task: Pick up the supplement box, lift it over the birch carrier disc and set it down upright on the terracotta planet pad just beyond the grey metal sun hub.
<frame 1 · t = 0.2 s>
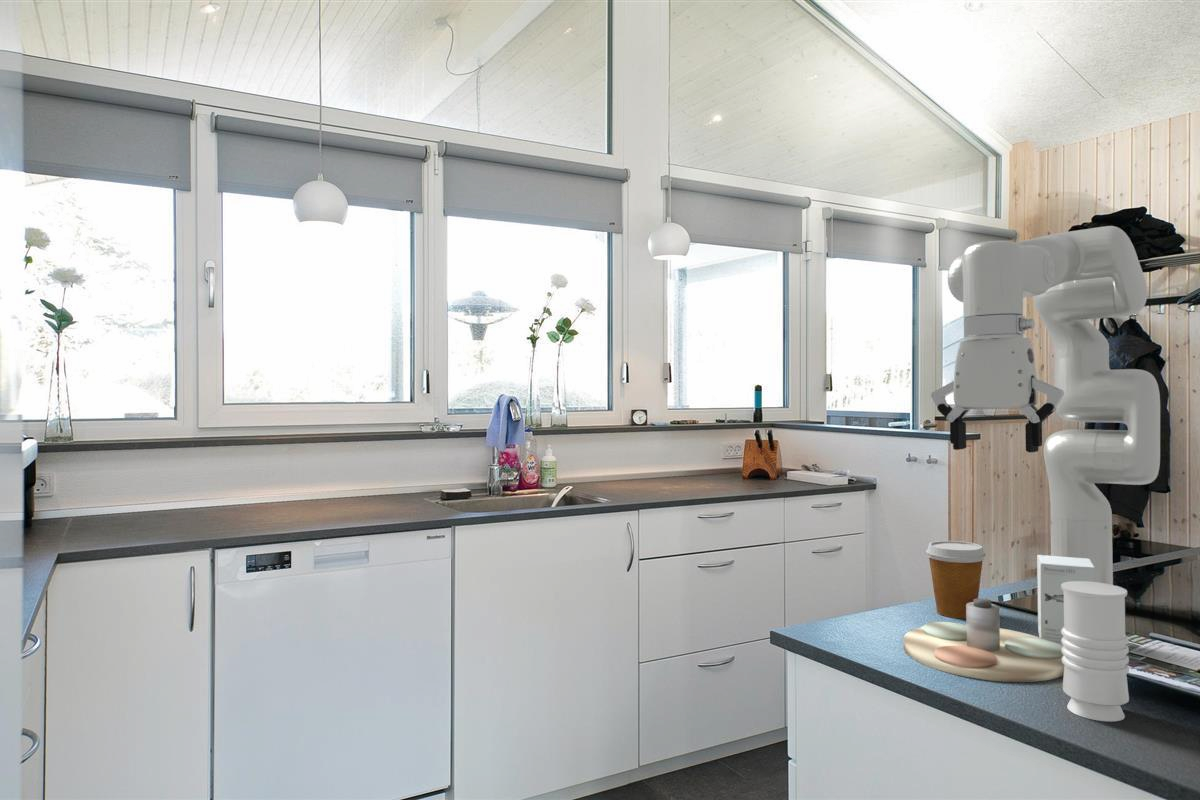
hand: (994, 450, 109), 31 cm above the worktop, tool pointing down, fingers open, 9 cm apart
disposable coffee cup: (956, 614, 134), on the worktop
supplement box: (1065, 642, 119), on the worktop
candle: (1095, 712, 93), on the worktop
carrier: (983, 654, 113), on the worktop
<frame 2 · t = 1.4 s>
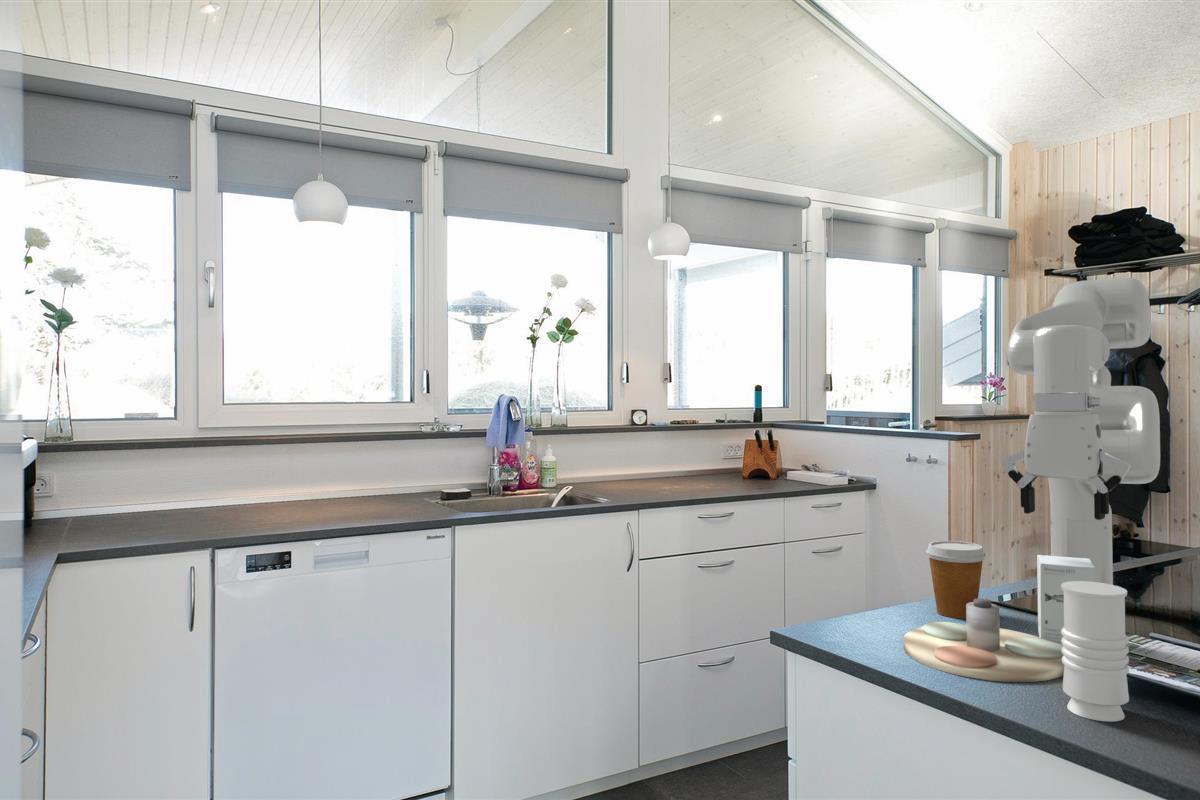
hand: (1063, 515, 119), 20 cm above the worktop, tool pointing down, fingers open, 9 cm apart
nothing on the worktop moved.
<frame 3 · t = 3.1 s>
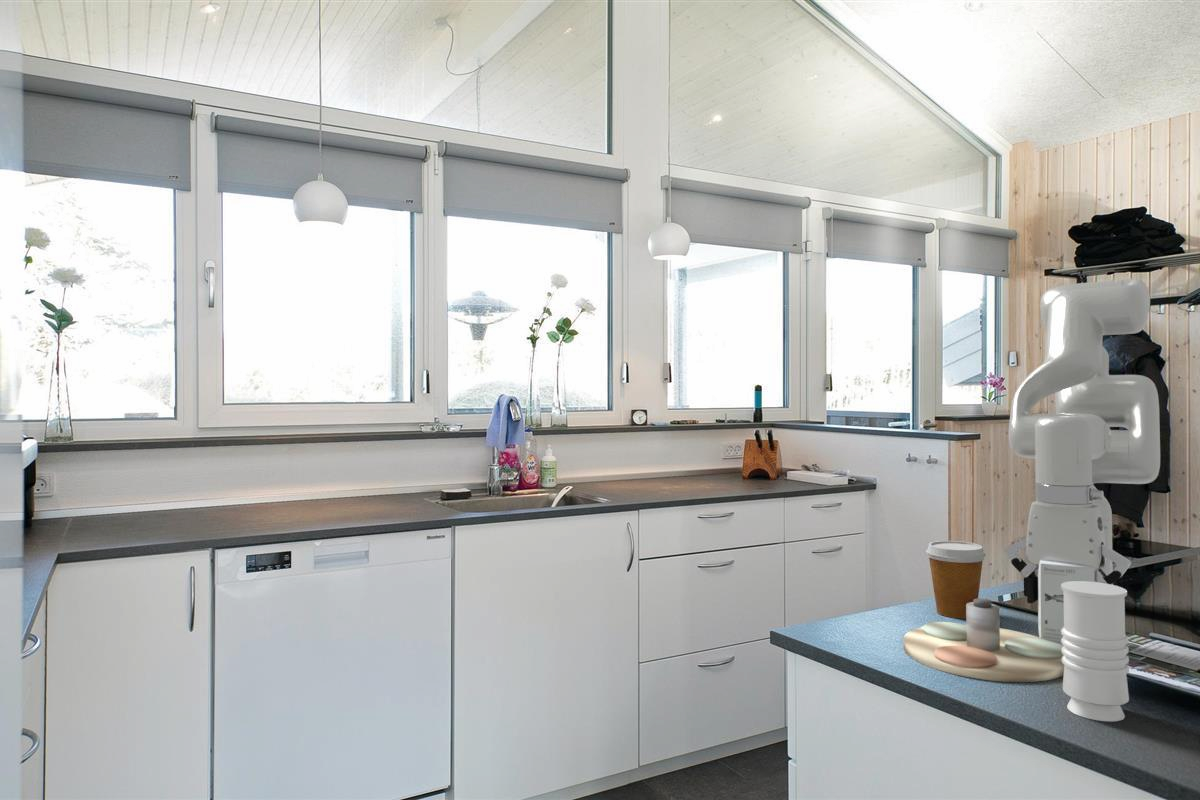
hand: (1065, 606, 119), 5 cm above the worktop, tool pointing down, fingers closed on supplement box, 8 cm apart
supplement box: (1066, 642, 119), on the worktop, touching gripper
everything else where it was.
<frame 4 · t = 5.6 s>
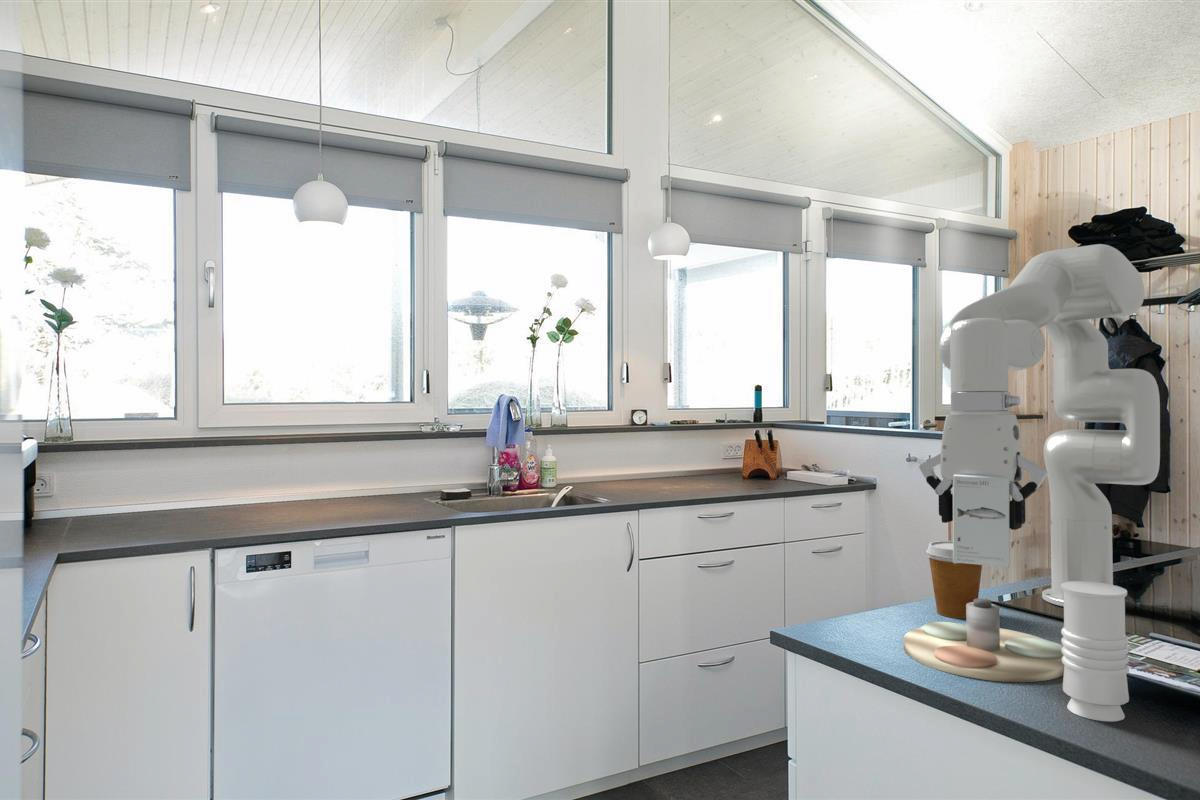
hand: (980, 524, 110), 20 cm above the worktop, tool pointing down, fingers closed on supplement box, 8 cm apart
supplement box: (981, 562, 110), point 14 cm above the worktop, touching gripper
everything else where it was.
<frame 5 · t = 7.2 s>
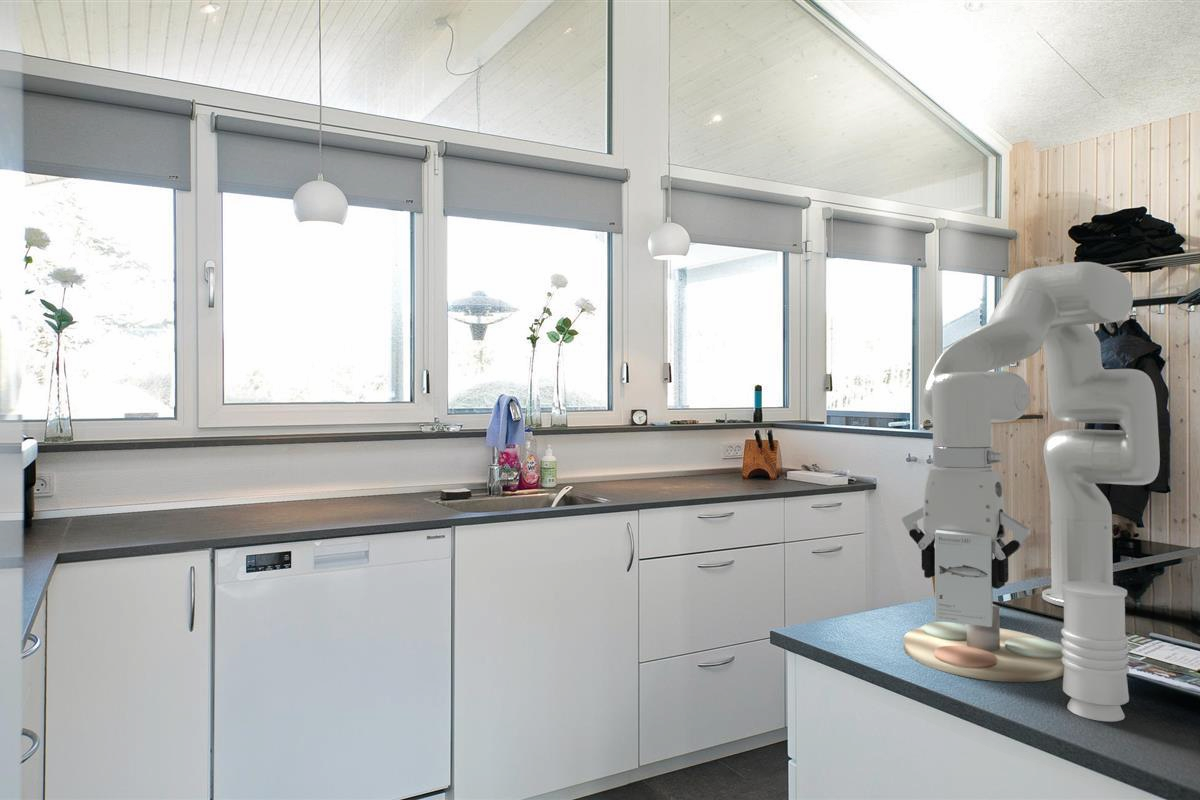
hand: (963, 581, 108), 12 cm above the worktop, tool pointing down, fingers closed on supplement box, 8 cm apart
supplement box: (964, 619, 108), point 7 cm above the worktop, touching gripper
everything else where it was.
when the fingers open (8 cm above the worktop, at t = 8.6 s): supplement box drops 1 cm, resting on carrier.
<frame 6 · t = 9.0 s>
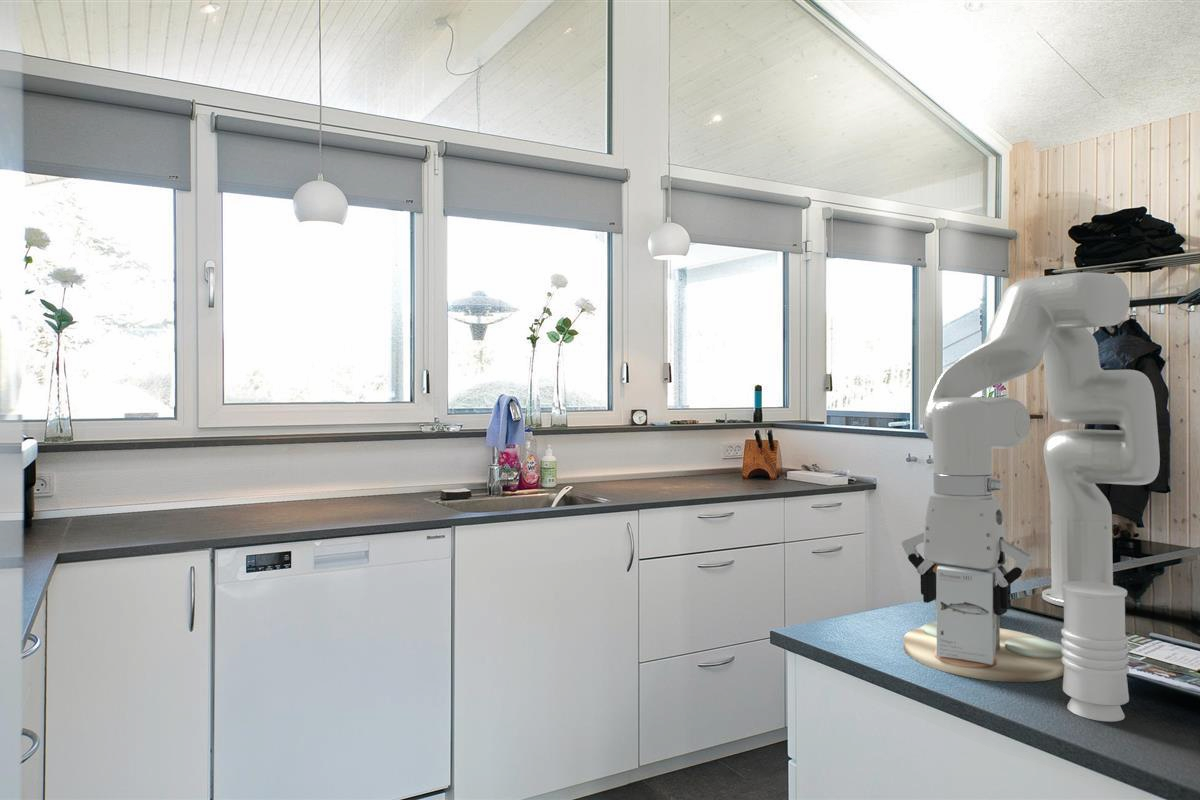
hand: (964, 606, 108), 8 cm above the worktop, tool pointing down, fingers open, 9 cm apart
supplement box: (967, 655, 109), point 2 cm above the worktop, touching carrier
everything else where it was.
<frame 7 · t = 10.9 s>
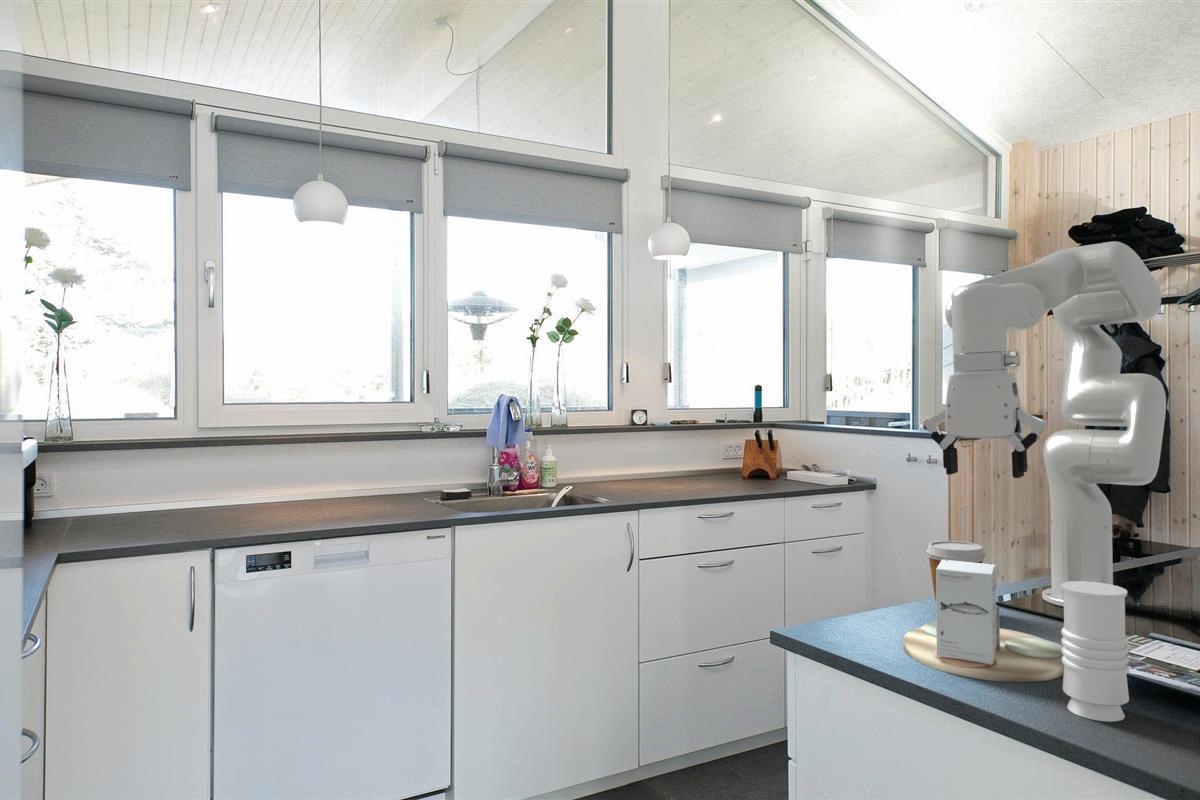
hand: (984, 475, 118), 26 cm above the worktop, tool pointing down, fingers open, 9 cm apart
nothing on the worktop moved.
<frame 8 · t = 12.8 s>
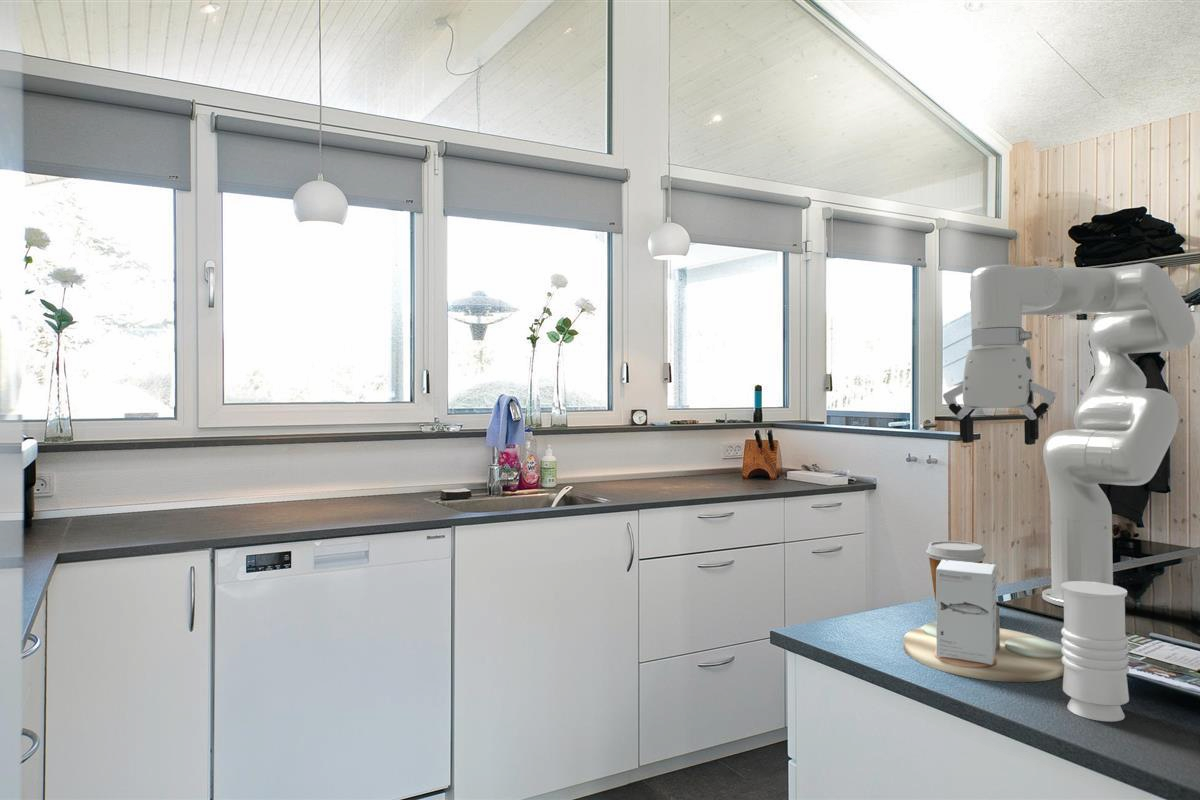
hand: (998, 443, 127), 30 cm above the worktop, tool pointing down, fingers open, 9 cm apart
nothing on the worktop moved.
at the end: supplement box 0.5 cm from the target spot on the carrier, point 1.5 cm above the carrier's base; supplement box tilted 0°; the gripper is holding nothing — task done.
